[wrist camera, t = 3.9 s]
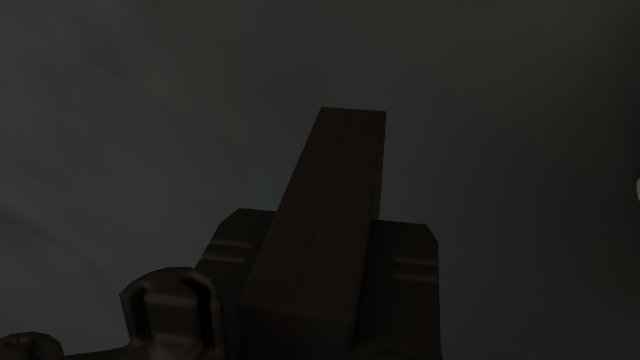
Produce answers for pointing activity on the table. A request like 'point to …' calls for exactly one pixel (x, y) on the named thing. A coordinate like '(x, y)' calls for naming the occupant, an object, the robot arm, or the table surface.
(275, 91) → the table surface
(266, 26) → the table surface
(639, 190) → the ceramic mug
